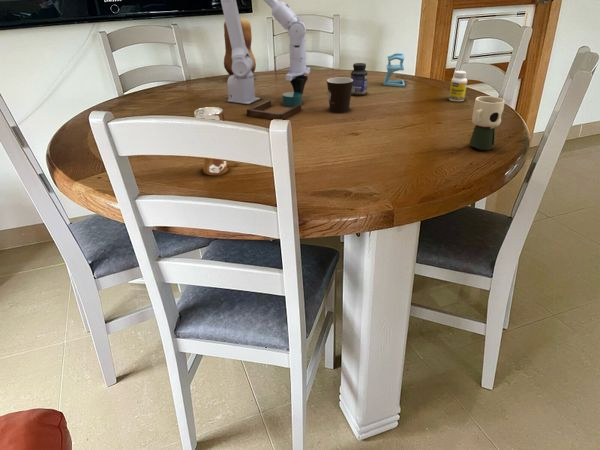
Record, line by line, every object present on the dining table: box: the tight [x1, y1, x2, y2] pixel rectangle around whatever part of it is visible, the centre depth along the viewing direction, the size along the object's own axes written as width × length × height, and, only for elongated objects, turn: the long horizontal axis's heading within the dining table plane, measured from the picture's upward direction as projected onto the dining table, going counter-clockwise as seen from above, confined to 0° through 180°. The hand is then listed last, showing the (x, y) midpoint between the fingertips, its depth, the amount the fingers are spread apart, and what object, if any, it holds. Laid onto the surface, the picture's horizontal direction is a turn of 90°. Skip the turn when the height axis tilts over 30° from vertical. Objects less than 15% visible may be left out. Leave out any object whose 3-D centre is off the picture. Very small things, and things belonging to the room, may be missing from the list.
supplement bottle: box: [448, 70, 468, 103], centre depth 163 cm, size 5×5×10 cm
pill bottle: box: [350, 62, 368, 97], centre depth 172 cm, size 6×6×11 cm
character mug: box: [468, 95, 506, 151], centre depth 120 cm, size 11×7×13 cm, turn 130°
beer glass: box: [193, 106, 229, 176], centre depth 110 cm, size 7×7×15 cm
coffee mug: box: [326, 76, 353, 114], centre depth 156 cm, size 12×9×10 cm
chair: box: [382, 52, 406, 88], centre depth 184 cm, size 8×8×12 cm
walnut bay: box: [246, 99, 302, 121], centre depth 155 cm, size 13×13×2 cm
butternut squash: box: [223, 16, 257, 77], centre depth 194 cm, size 14×13×25 cm
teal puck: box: [281, 91, 303, 108], centre depth 164 cm, size 7×7×4 cm
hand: (298, 97), depth 168 cm, fingers closed
